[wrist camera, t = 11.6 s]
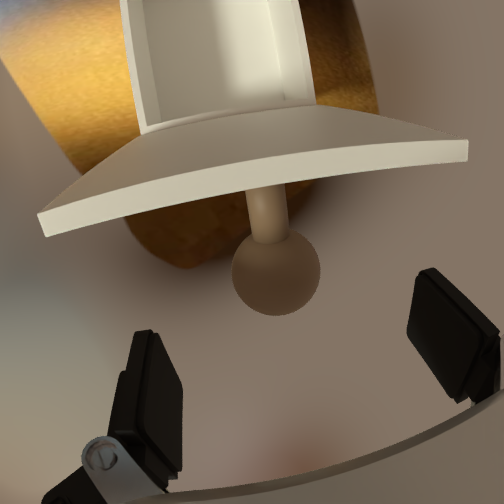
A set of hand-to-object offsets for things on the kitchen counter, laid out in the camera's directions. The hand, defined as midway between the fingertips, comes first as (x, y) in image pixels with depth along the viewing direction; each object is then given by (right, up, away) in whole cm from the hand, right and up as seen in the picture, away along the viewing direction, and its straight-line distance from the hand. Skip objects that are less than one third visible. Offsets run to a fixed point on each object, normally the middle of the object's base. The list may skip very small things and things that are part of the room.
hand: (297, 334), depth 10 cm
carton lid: (-2, +9, +5) cm, 11 cm away
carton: (-6, +24, +17) cm, 30 cm away
